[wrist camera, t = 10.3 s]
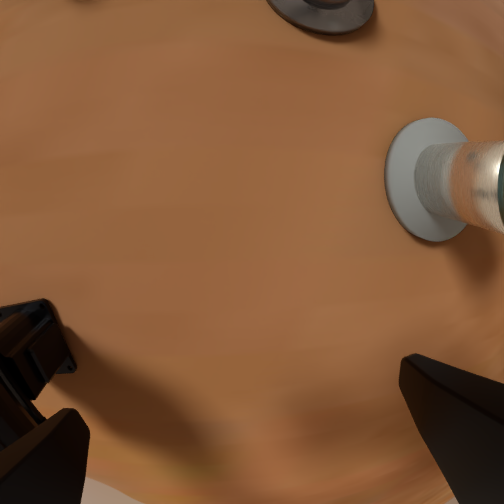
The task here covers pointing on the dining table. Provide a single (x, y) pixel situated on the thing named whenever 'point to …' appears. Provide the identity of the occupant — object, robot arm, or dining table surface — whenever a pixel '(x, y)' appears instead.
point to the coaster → (402, 178)
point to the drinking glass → (463, 182)
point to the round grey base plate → (324, 14)
